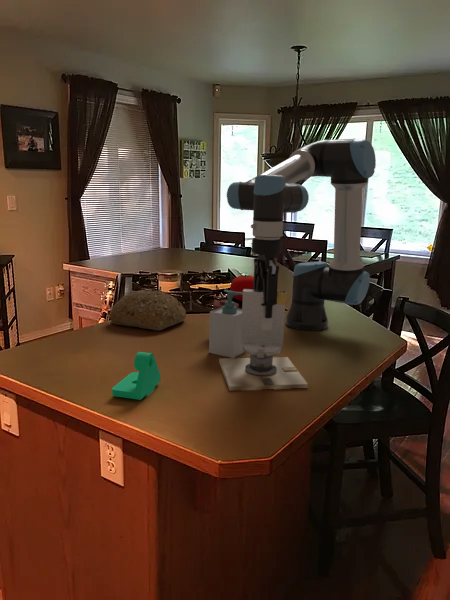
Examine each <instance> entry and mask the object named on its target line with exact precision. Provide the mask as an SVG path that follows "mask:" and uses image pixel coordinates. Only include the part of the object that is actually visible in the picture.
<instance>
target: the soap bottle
mask: <svg viewBox="0 0 450 600" xmlns="http://www.w3.org/2000/svg"><path fill="white" fill-rule="evenodd" d="M223 292H224V293H226V298H227V300H228V301H226V302H225V306H223V307H222V308H219V309H216V310H213V309H212V310H211V311H209V329H208V331H209V333H208V334H209V335H208V336H209V338H208V353H210V354H213V355H216V356H217V355H218V356H223V357H225V358H237V357H238V356H240V355H242V354H244V353H245V352H244V351H243V343H241V330H242V308H239V309H238V308H237V307H236V306H235V303H236V302H235V301H233V298H234V297H233V296H234V295H243V293H242V292H235V291H230V289H229V290H228V289H224V290H223ZM234 302H235V303H234Z"/></svg>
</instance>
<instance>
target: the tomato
mask: <svg viewBox="0 0 450 600" xmlns="http://www.w3.org/2000/svg"><path fill="white" fill-rule="evenodd" d="M253 284H254V275H253V276H252V275H251V274H249V275H247V274H241V275H238V276H236V277H235V278H234V279H232V281H231V283H230V286H229V291H235V292H242V293H243V290H244V289H252V290H253ZM233 298H234V299H236V300H237V301H239V302H241V301H242V303H243V295H234V296H233Z"/></svg>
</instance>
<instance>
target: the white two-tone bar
mask: <svg viewBox="0 0 450 600" xmlns="http://www.w3.org/2000/svg"><path fill="white" fill-rule="evenodd" d="M286 302H287V291H286V290H277V304H276V305H273V322H272V330H261V323H262V306H261V303H264V296H263V290H252V289H244V290H243V302H242V304H241V305H242V307H241V309H242V330H241V343H243V351H244V353H245V354H248V355H255V356H257V357H259V358H264V356H273V357H274V356H277V355H279V354H280V353H281V351H282V349H281V348H282V347H283V346H284V335H285V333H284V332H285V319H286V317H285V316H286V315H285V314H286V305H287V304H286Z"/></svg>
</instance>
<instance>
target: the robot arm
mask: <svg viewBox="0 0 450 600" xmlns="http://www.w3.org/2000/svg"><path fill="white" fill-rule="evenodd" d="M376 163H377V161H376V153H375V148H374V146H373V144H372V143H371V142H370V141H369V140H368V139H364V138H343V139H342V138H341V139H337V138H336V139H321V140H317V141H315V142H311V143H308V144H306V145H304V146H302V147H300V148H297V149H296V150H294V151H293V152H292V153H291V154H290V155H289V157H288V158H287V159H285V160H283V161H282V162H279V163H278V164H276V165H274V166H273V167H271V168H268V170H265V171H263V172H262V173H260V174H258V175H256V176H255V177H253V178H251V179H248V180H247V181H237V182H232V183H231V184H229V186H228V188H227V191H226V199H227V203H228V205H229V207H230V208H232V209H235V210H240V211H253V213H252V214H253V219H252V224H251V225H250V228H251V229H252V236H253V238H252V239H251V252H252V253H253V254H255V255H257V257H256V258H255V257H254V259H253V264H254V267H253V277H254V284H253V290H263V296H264V303H261V306H262V323H261V330H272V322H273V305H276V304H277V291H278V285H279V283H278V279H279V270H280V267H279V265H276V260H275V256H276V255H280V254H281V253H282V245H283V244H282V243H283V241H282V239H281V237H283V231H284V229H283V228H284V221H283V220H284V214H286V213H289V214H291V213H292V214H295V213H298V212H301V211H303V210H304V209H305V208H306V207H307V205H308V203H309V197H310V196H309V192H308V190H307V189H306V187H305V186H304V185H302V184H298V182H299V181H302V180H307V179H310V178H311V177H313V178H314V177H326V178H330V185H331V186H332V187H333V188H334V190H335V191H334V225H333V226H334V227H333V228H334V229H333V230H334V231H333V236H334V237H333V260H332V261H331V262H329V264H328V263H327V262H326V261H307V262H305V261H304V262H300V263H296V264H295V265H294V268H293V275H292V278H293V279H292V281H293V282H292V295H291V304H290V307H289V309H288V312H287V313H286V317H285V324H286V325H287V326H288V327H290V328H292V329H297V330H300V331H301V330H302V331H319V330H321V331H322V330H325V329H327V328H328V322H329V319H328V315H327V312H326V307H325V301H329V302H335V303H340V304H344V305H355V306H357V305H359V304H361V302H363V300H364V299H365V298H366V295H367V294H368V290H369V287H370V282H371V276H370V273H369V272H367V271H365V264H364V263H363V262H362V261H361V259H360V258H361V234H362V215H363V214H362V212H363V210H362V207H363V192H364V191H363V189H364V187H366V185H368V183H369V179H370V178H372V177H373V176H374V174H375V171H376V170H375V169H376Z"/></svg>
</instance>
